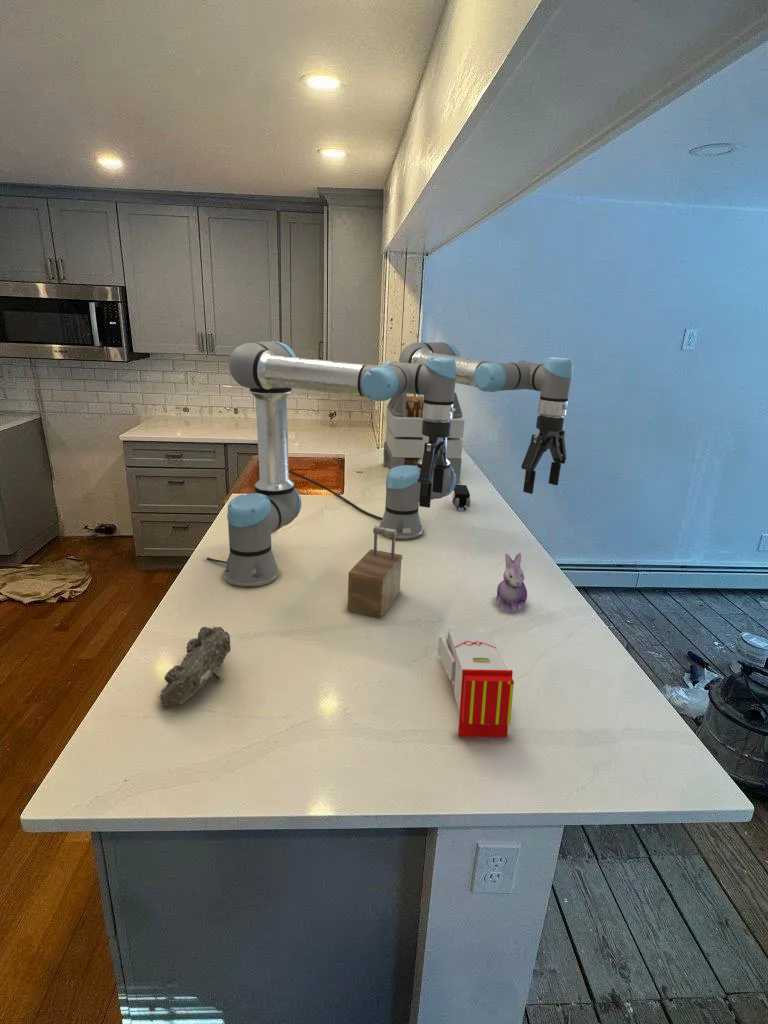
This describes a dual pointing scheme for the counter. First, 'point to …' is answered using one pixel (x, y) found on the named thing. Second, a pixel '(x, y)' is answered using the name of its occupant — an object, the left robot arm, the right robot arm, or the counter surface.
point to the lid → (377, 560)
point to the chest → (373, 594)
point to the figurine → (512, 586)
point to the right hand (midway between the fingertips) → (540, 488)
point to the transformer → (417, 433)
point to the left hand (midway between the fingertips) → (431, 499)
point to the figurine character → (461, 496)
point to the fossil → (196, 665)
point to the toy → (478, 682)
